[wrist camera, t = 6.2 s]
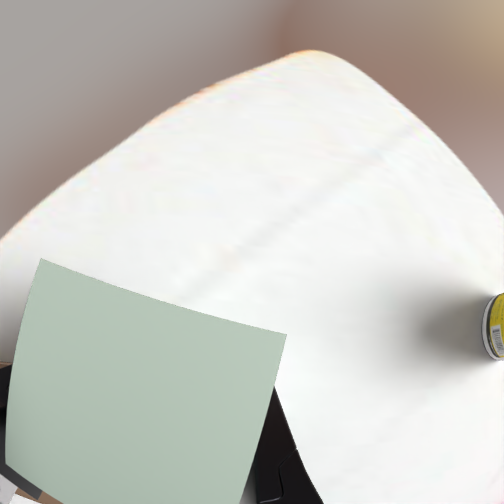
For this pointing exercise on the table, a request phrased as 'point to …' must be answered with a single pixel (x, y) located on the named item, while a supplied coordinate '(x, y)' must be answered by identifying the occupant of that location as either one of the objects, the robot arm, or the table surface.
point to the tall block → (134, 396)
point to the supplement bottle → (494, 327)
